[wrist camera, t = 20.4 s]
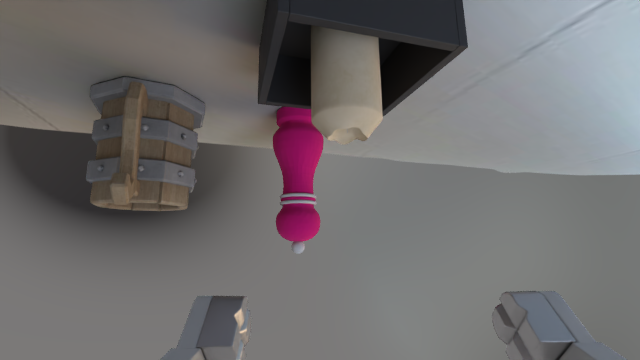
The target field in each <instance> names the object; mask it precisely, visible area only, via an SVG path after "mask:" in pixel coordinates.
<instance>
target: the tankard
mask: <svg viewBox="0 0 640 360" xmlns="http://www.w3.org/2000/svg"><path fill="white" fill-rule="evenodd" d="M90 98H91V99H92V101H93V103H94V104H95V106H96V108H97V109H98V111H99V113H100V114H101V115H102V116H101V119H100V120H96V121H94V125H93V132H92V139H93V140H94V142H95V143H96V144H97V145H98V146H97V153H96V160H91V161H89V162H88V168H87V175H86V180H87V181H88V182H90V183H91V184H92V191H91V198H90V202H91V203H92V204H94V205H96V206H98V207H104V208H114V209H124V210H130V209H131V210H146V211H149V210H150V211H161V210H162V211H171V210H184V209H186V208H187V206H188V196H189V193H190V192H192V191H193V188H194V183H196V179H195V169H193V168H191V159H194V158H195V154H196V150H197V149H198V148H199V146H198V145H197V136H198V134H197V133H196V132H194V131H193V129H195V128H200V127H202V124H203V119H204V114H205V104H204V103H203V102H202V101H200V100H198V99H197V98H195V97H193V96H191V95H190V94H188V93H186V92H185V91H183V90H181V89H179V88H178V87H176V86H174V85H170V84H164V83H158V82H152V81H147V80H141V79H135V78H130V77H121V78H118V79H114V80H110V81H107V82H103V83H99V84H96V85H93V86H91V91H90Z"/></svg>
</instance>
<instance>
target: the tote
mask: <svg viewBox="0 0 640 360" xmlns="http://www.w3.org/2000/svg"><path fill="white" fill-rule="evenodd" d="M311 25H313V26H319V27H324V28H329V29H335V30H340V31H346V32H351V33H356V34H362V35H367V36H373V37H378V41H379V59H380V77H381V95H382V113H383V116H385V115H386V114H387V113H388V112H389V111H391V110H392V109H393V108H394V107H396V106H397V105H398V104H399V103H400V102H402V101H403V100H404V99H405V98H407V97H408V96H409V95H410V94H411V93H413V92H414V91H415V90H416V89H418V88H419V87H420V86H421V85H422V84H424V83H425V82H426V81H427V80H429V79H430V78H431V77H432V76H433V75H435V74H436V73H437V72H438V71H439V70H441V69H442V68H443V67H444V66H446V65H447V64H448V63H449V62H450V61H452V60H453V59H454V58H455V57H457V56H458V55H459V54H460V53H461V52H463V51H464V50H465V49H466V48H467V47H468V44H467V35H466V27H465V18H464V10H463V1H462V0H267V4H266V10H265V17H264V23H263V29H262V36H261V42H260V48H259V81H258V104H266V105H275V106H284V107H293V108H302V109H311Z"/></svg>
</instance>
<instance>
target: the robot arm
mask: <svg viewBox="0 0 640 360" xmlns="http://www.w3.org/2000/svg"><path fill="white" fill-rule="evenodd" d="M500 301H501V304H500V305H498V306H497V307H495V309H494V311H493V314H492V321H493V326H494V329H495V331H496V333H497V335H498V337H499V338H500V339H501V340H502V341H503V342H504V343H506V344H507V348H506V353H507V356H508V358H509V359H510V360H627V359H625V358H624V357H622V356H621V355H619V354H618V353H616V352H615V351H613V350H612V349H611V348H609V347H608V346H606V345H605V344H603V343H601V342H596V341H595V340H594V339H593V337H592V336H591V335H590V333H589V332H588V331H587V330H586V329H585V327H584V326H583V325H582V323H581V322H580V320H579V319H578V318H577V316H576V315H575V314H574V313H573V311H572V310H571V309H570V307H569V306H568V305H567V303H566V302H565V301H564V300H563V298H562V297H561V296H560V295H559V294H558V293H557V292H555V291H538V292H537V291H520V292H519V291H518V292H505V293H503V294H502V295H501V297H500ZM247 306H248V300H247V296H197V298H196V299H195V300H194V302H193V305H192V308H191V310H190V313H189V316H188V318H187V321H186V324H185V326H184V329H183V332H182V334H181V337H180V340H179V342H178V345H177V348H174V349H173V348H171V349H170V350H169V351H168V352H167V353H166V354H165V355H164V356H163V357H162V358H161V359H160V360H246V352H245V348H244V347H245V345H246V344H247V343H248V342H249V339H250V333H251V313H250V310H248V309H247Z"/></svg>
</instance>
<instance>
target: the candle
mask: <svg viewBox="0 0 640 360" xmlns="http://www.w3.org/2000/svg"><path fill="white" fill-rule="evenodd" d="M382 119H383V113H382V95H381V77H380V59H379V41H378V37H373V36H367V35H362V34H356V33H351V32H346V31H340V30H335V29H329V28H324V27H319V26H313V25H311V121H312V124H313V125H314V126H315V127H316V128H317V129H318V130H319V131H320V132H321V133H322V134H323V135H324V136H325V137H326V138H327V139H328V140H329V141H333V140H335V141H337V142H338V143H340V144H342V145H345V144H348V143H350V142H352V141H353V140H355V139H358V140H361V141H365V140H367V139H368V137H369V136H370V135H371V133H372V132H373V131H374V130H375V128H376V127H377V126H378V125H379V124H380V123H381V121H382Z"/></svg>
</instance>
